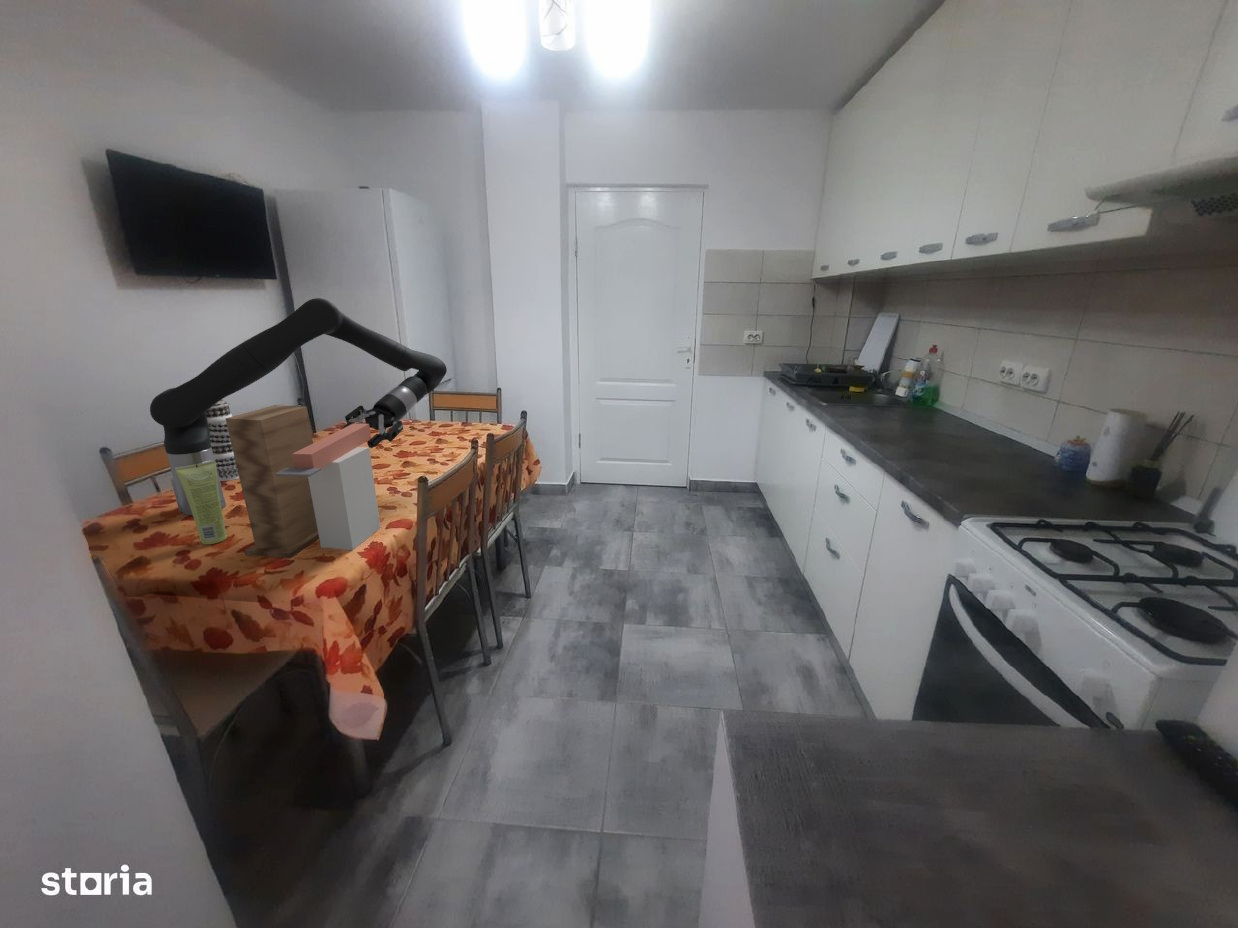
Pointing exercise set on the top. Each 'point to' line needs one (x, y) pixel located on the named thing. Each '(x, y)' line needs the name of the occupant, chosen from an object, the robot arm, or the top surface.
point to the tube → (204, 500)
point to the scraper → (327, 450)
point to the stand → (274, 478)
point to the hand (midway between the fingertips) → (355, 440)
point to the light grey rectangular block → (345, 500)
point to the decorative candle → (221, 441)
